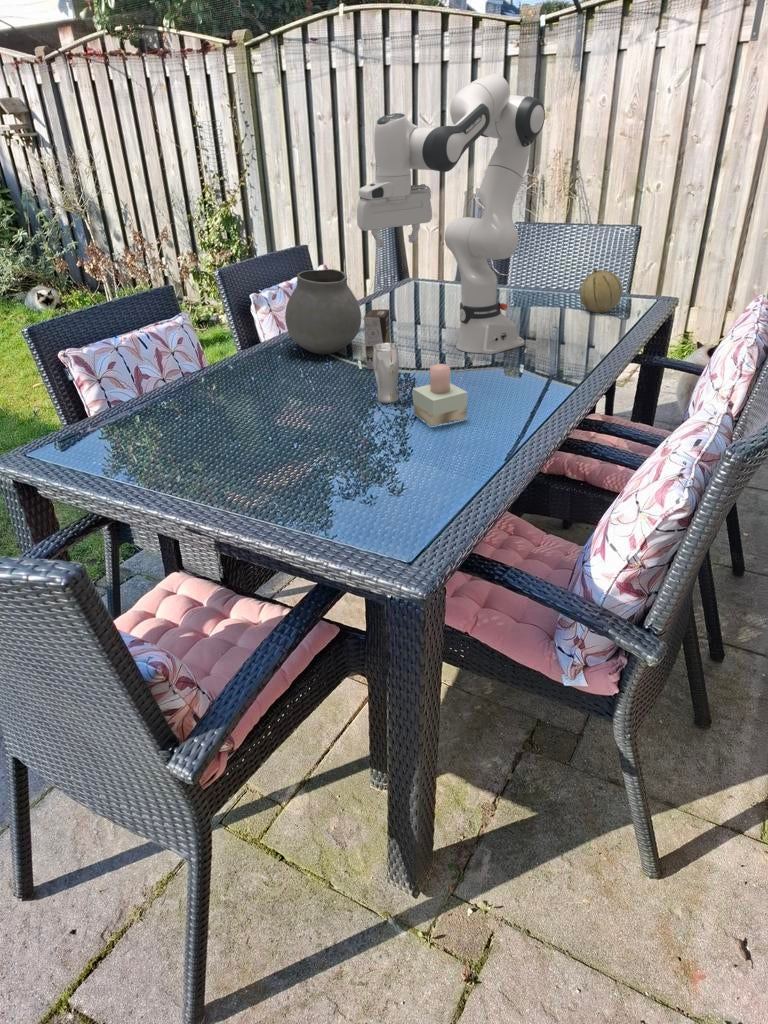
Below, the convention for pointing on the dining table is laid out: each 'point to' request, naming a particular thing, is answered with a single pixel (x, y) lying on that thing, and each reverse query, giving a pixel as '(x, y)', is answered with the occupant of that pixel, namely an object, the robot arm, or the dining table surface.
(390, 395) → the beer glass
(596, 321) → the dining table surface
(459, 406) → the tower top
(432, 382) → the rose cylinder
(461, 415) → the tower base
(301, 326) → the ceramic pot
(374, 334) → the coffee box
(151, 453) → the dining table surface
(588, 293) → the cantaloupe
